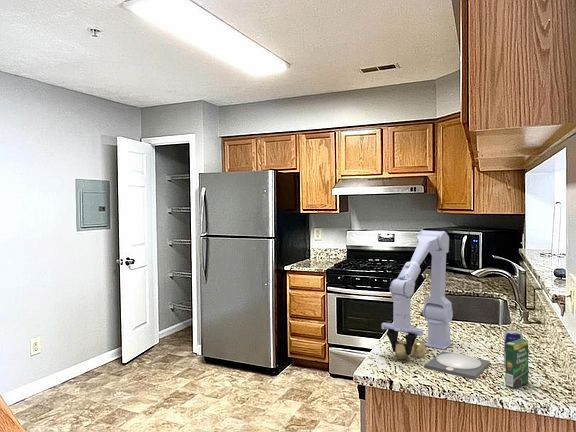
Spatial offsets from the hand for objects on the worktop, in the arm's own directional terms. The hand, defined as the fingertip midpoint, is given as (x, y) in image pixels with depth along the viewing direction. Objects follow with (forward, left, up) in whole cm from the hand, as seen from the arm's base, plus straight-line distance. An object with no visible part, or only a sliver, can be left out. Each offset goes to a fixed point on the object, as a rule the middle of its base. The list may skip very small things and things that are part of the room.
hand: (401, 352), depth 155 cm
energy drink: (-15, +32, -3) cm, 35 cm away
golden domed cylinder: (0, 0, -1) cm, 1 cm away
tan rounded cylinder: (-7, +3, -2) cm, 8 cm away
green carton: (-1, +36, -3) cm, 36 cm away
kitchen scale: (-6, +17, -2) cm, 18 cm away
